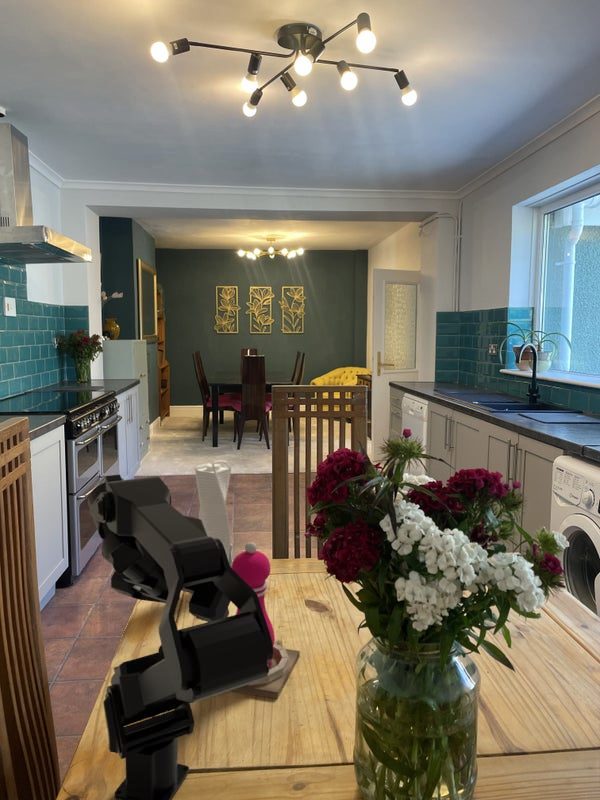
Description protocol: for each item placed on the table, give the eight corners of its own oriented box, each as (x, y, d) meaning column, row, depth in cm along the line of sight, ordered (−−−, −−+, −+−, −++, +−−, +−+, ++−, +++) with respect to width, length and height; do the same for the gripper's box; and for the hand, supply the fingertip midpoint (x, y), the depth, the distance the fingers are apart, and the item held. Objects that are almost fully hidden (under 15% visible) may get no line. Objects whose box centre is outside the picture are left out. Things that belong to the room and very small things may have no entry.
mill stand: (277, 698, 86) (277, 684, 86) (201, 685, 90) (201, 671, 89) (299, 656, 98) (299, 643, 98) (231, 646, 101) (231, 634, 101)
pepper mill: (253, 683, 88) (252, 554, 86) (219, 667, 93) (217, 543, 91) (284, 662, 94) (283, 540, 92) (250, 648, 99) (249, 531, 96)
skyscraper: (238, 595, 121) (237, 460, 118) (198, 599, 119) (195, 462, 117) (233, 579, 130) (232, 452, 127) (195, 582, 128) (193, 454, 125)
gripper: (228, 514, 74) (277, 570, 85) (124, 493, 84) (180, 546, 95) (186, 597, 68) (244, 647, 79) (80, 565, 78) (144, 612, 89)
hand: (201, 608), depth 85 cm, fingers open, 9 cm apart
